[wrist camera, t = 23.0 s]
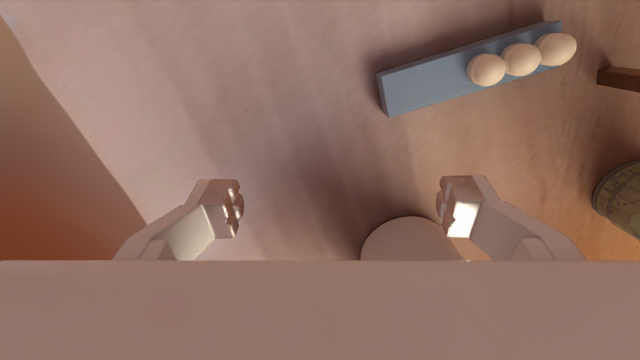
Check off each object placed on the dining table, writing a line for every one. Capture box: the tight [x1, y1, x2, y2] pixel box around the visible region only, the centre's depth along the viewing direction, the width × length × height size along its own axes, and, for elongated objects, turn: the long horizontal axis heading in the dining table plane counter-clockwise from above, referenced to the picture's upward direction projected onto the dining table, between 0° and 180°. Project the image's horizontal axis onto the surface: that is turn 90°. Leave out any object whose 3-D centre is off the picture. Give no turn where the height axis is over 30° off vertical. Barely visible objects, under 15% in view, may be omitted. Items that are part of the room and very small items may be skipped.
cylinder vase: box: [361, 216, 465, 261], centre depth 33 cm, size 12×12×25 cm
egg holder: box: [376, 21, 576, 118], centre depth 31 cm, size 18×4×5 cm, turn 106°
